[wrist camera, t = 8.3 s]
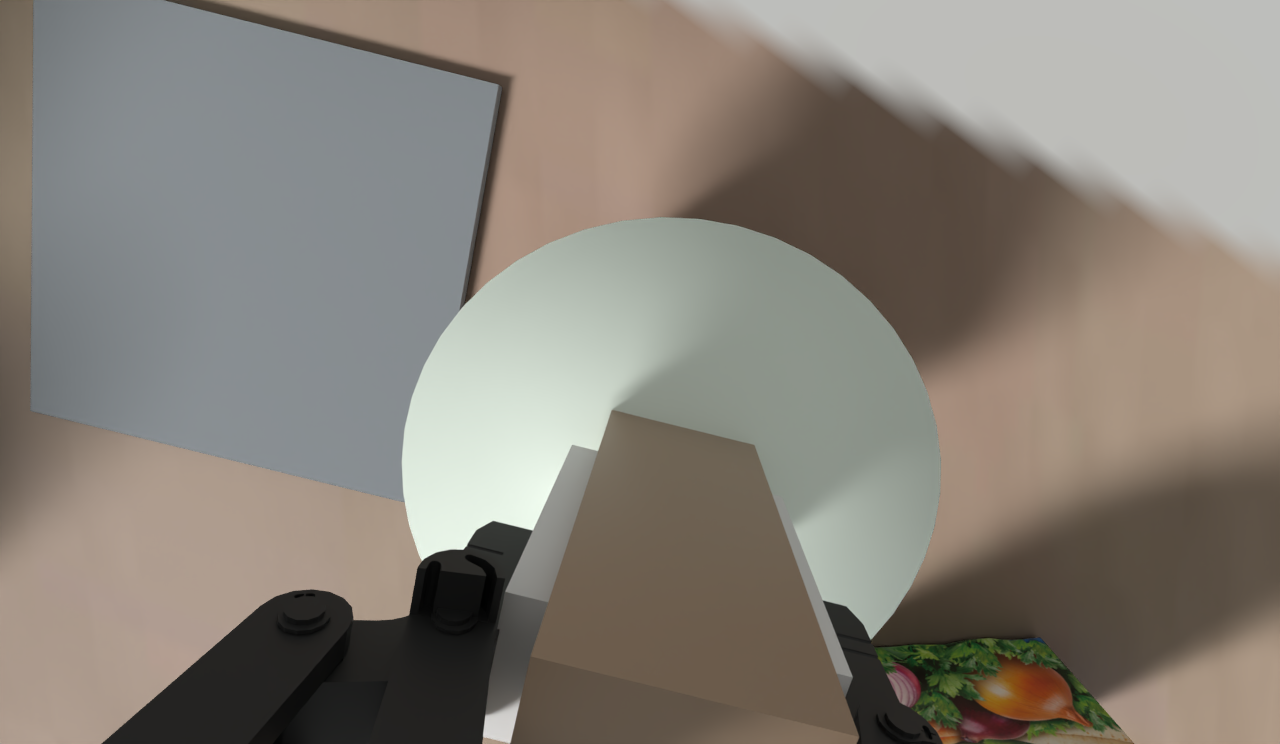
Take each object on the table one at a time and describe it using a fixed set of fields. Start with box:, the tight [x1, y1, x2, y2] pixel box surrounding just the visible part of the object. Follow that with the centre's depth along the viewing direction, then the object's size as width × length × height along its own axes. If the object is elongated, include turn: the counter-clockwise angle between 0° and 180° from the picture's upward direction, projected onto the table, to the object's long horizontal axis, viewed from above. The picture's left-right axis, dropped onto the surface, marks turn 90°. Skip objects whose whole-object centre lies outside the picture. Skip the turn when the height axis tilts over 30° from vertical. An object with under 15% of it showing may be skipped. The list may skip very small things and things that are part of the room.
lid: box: [402, 217, 941, 744], centre depth 13 cm, size 15×15×11 cm
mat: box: [30, 0, 502, 502], centre depth 29 cm, size 20×20×1 cm
